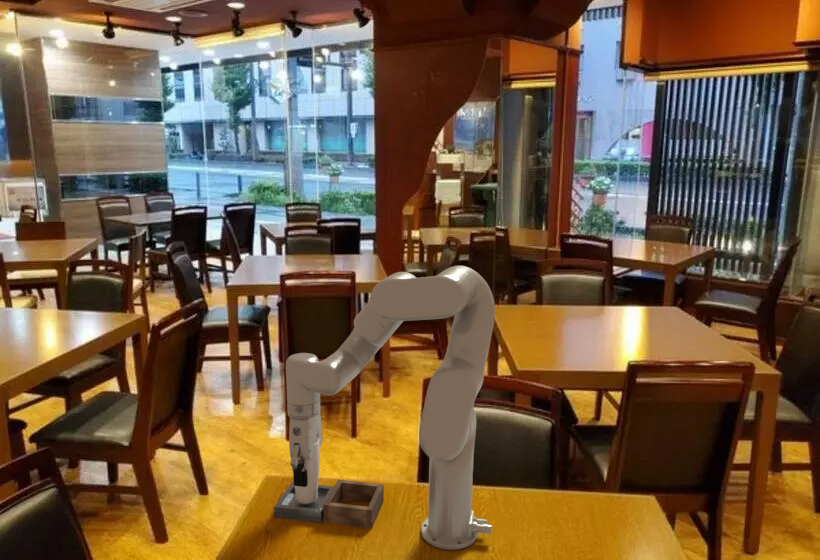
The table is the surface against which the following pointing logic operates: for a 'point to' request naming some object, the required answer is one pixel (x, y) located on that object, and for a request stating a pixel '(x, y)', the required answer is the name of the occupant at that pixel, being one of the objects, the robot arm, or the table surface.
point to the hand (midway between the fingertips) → (306, 477)
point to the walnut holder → (354, 513)
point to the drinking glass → (310, 478)
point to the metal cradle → (302, 505)
